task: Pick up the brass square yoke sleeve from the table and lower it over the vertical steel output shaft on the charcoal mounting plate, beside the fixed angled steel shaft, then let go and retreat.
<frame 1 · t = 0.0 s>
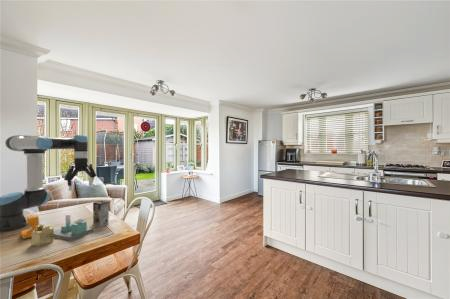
hand: (81, 188, 135), 28 cm above the table, tool pointing down, fingers open, 13 cm apart
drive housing: (71, 233, 128), on the table
bracket: (30, 235, 125), on the table
yoke sleeve: (42, 242, 116), on the table
coffee box: (100, 224, 144), on the table
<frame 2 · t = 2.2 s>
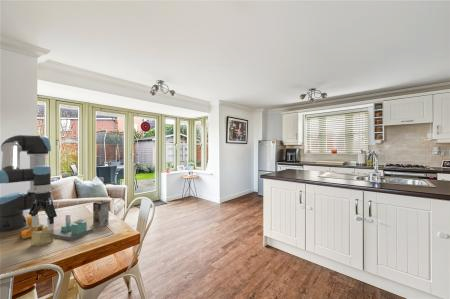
hand: (42, 228, 115), 9 cm above the table, tool pointing down, fingers open, 13 cm apart
nothing on the table moved.
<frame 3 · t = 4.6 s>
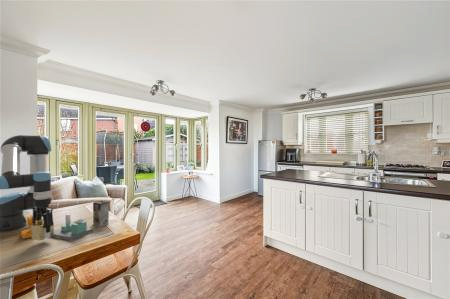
hand: (42, 236, 116), 4 cm above the table, tool pointing down, fingers closed on yoke sleeve, 7 cm apart
yoke sleeve: (42, 236, 116), point 3 cm above the table, touching gripper
everything else where it was.
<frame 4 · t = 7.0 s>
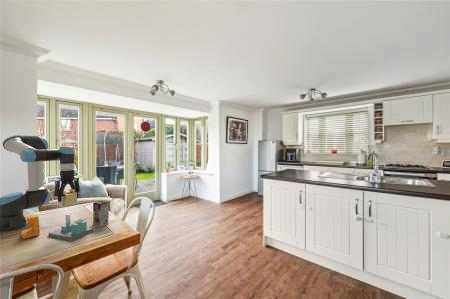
hand: (67, 204, 129), 19 cm above the table, tool pointing down, fingers closed on yoke sleeve, 7 cm apart
yoke sleeve: (67, 205, 129), point 18 cm above the table, touching gripper
everything else where it was.
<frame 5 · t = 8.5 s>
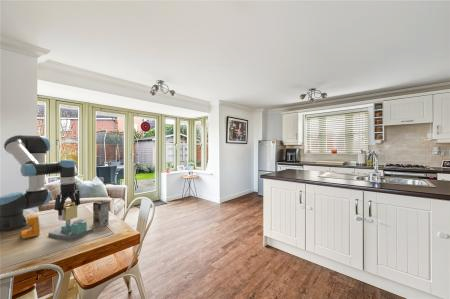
hand: (68, 218, 129), 10 cm above the table, tool pointing down, fingers closed on yoke sleeve, 7 cm apart
yoke sleeve: (68, 218, 129), point 10 cm above the table, touching gripper
everything else where it was.
when the fingers open (6 cm above the table, at t = 9.8 s): yoke sleeve stays where it is, resting on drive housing.
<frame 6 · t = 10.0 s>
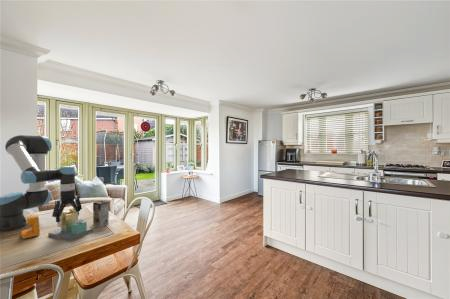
hand: (68, 223, 129), 6 cm above the table, tool pointing down, fingers open, 9 cm apart
yoke sleeve: (68, 225, 129), point 5 cm above the table, touching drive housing
everything else where it was.
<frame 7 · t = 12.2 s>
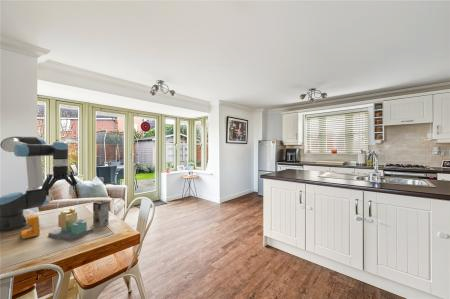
hand: (60, 197, 129), 23 cm above the table, tool pointing down, fingers open, 13 cm apart
nothing on the table moved.
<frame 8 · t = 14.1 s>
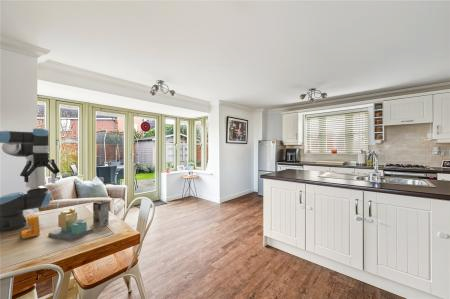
hand: (41, 185, 127), 32 cm above the table, tool pointing down, fingers open, 13 cm apart
nothing on the table moved.
at the end: yoke sleeve 0.1 cm from the target spot on the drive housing, point 5.0 cm above the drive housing's base; yoke sleeve tilted 0°; the gripper is holding nothing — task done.
